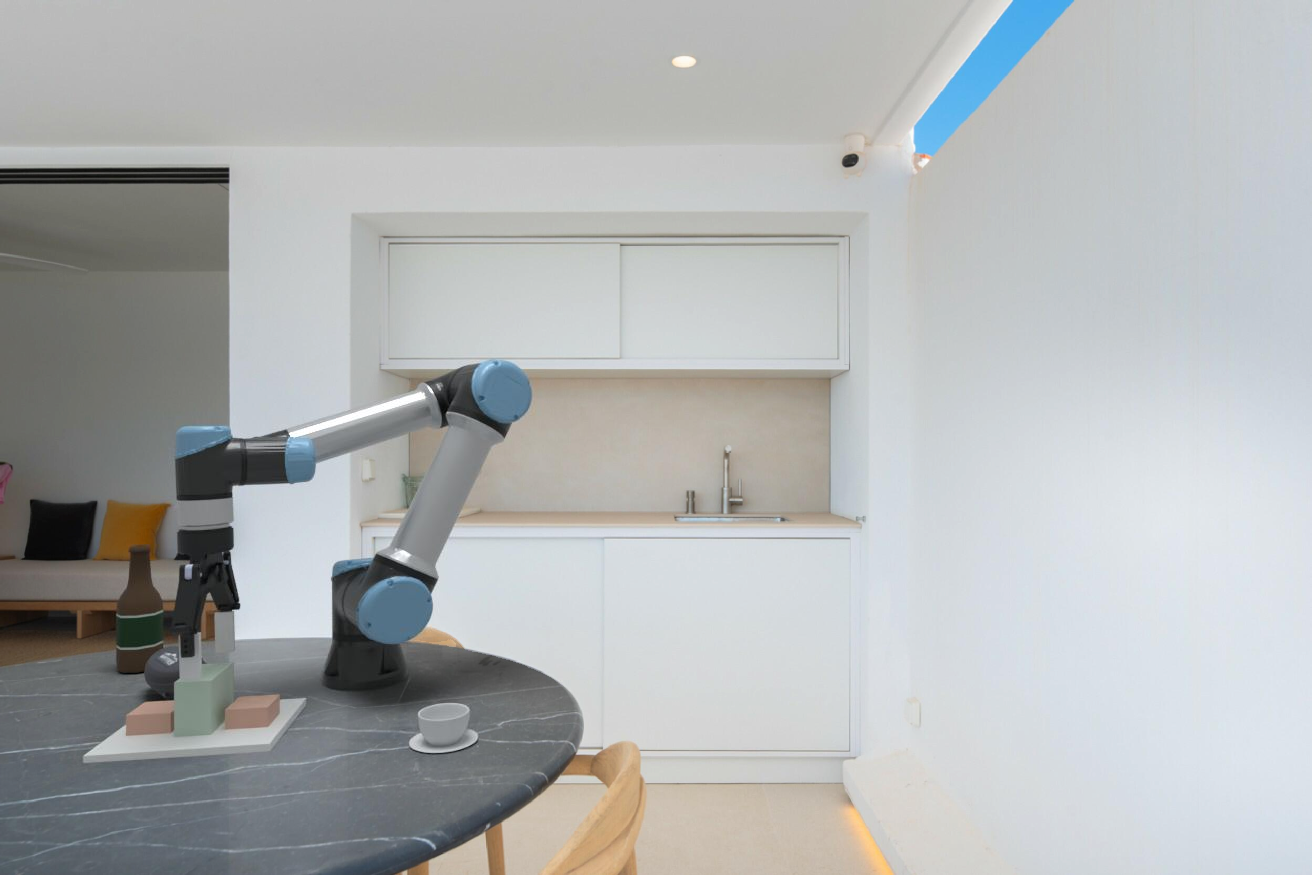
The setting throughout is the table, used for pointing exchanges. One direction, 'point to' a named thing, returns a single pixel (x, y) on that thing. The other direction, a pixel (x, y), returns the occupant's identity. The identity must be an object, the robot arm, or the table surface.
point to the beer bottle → (138, 615)
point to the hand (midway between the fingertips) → (209, 664)
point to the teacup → (443, 729)
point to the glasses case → (163, 671)
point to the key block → (203, 700)
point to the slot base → (243, 731)
